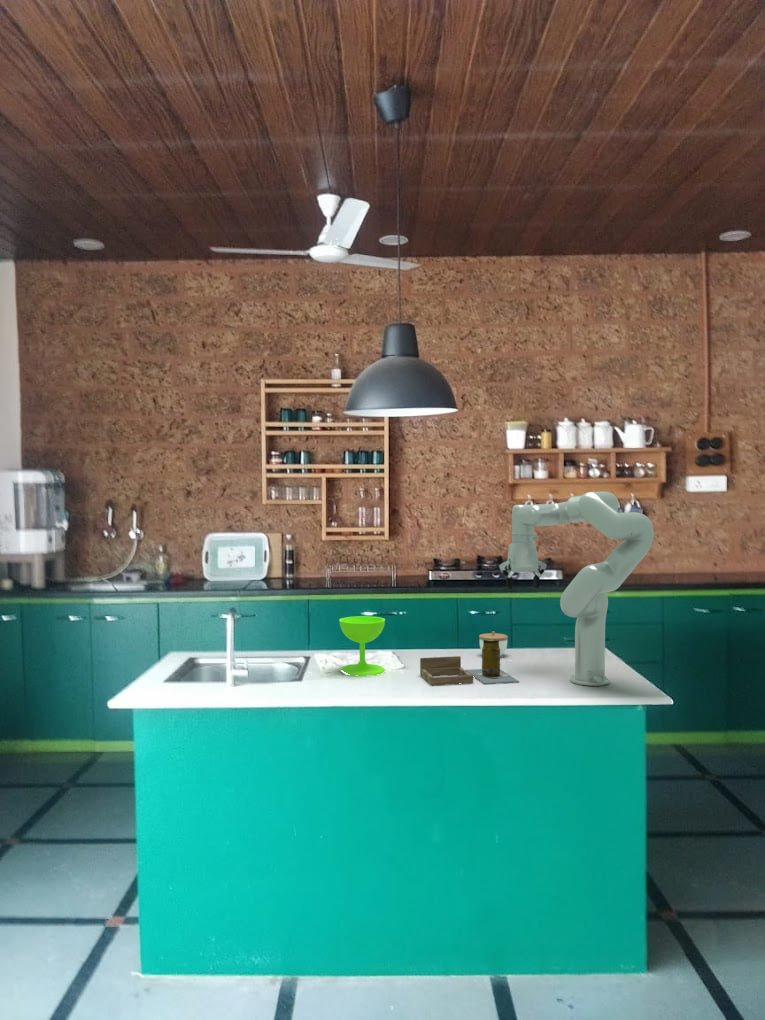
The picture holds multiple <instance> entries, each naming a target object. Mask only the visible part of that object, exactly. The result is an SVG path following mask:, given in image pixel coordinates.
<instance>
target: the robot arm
mask: <svg viewBox="0 0 765 1020" xmlns="http://www.w3.org/2000/svg"><path fill="white" fill-rule="evenodd" d="M619 507H620V503H619V499H618V498H617V496H616V495H615V494H613V493H611V492H610V491H589V492H588V491H587V492H585V493H584V494H582V495H576V496H572V497H569V498H568V500H567V501H563V502H558V503H557V502H556V503H541V504H540V503H539V504H538V503H537V504H515V505H513V506H512V509H511V511H512V512H511V513H512V515H511V517H512V518H511V526H512V527H511V532H512V533H511V540H512V541H511V543H509V546H508V551H507V560H506V561H504V562H502V563H500V564H499V565H498V567H499V570H500V571H501V573H502V574H503V575H504V577H505V578H506V581H505V582H506V585H505V586H506V587H507V589H508V590H512V589H513V578H512V577H513V575H514V574H515V573H533V575H534V576H533V585H532V587H533V588H535V589H539V586H540V577H542V575H543V573H545V570H546V568H547V566H548V564H547V563H546V562H543V561H541V560H539V558H538V549H537V545H536V543H535V541H538V538H539V537H538V536H536V535H535V530H534V529H535V527H545V526H547V527H550V526H559V525H565V524H571V523H574V524H575V523H580V522H581V523H582V522H588V523H589V524H591V525H592V526H593V527H594V528H596V529H597V531H599V532H600V533H601V534H603V535H604V536H605V537H607V538H608V539H611V540H613V541H622V542H620V544H618V545H617V546H616V547H615V548H614V549H613V550H612V552H610V553H609V555H608V557H607V558H605V560H603V561H601V562H597V563H591V564H588V565H585V566H584V567H583V568H582V569H580V570H579V572H578V573H577V574H576V575H575V577H574V578H573V579H572V580H571V581H570V583H569V584H568V585H567V587H566V588H565V589H564V591H563V592H562V594H561V597H560V599H559V600H560V601H559V605H560V608H561V611H562V613H563V614H564V615H565V616H567V617H570V618H576V620H575V621H576V622H575V626H574V631H575V632H574V633H575V634H574V674H573V675H571V676H570V678H569V681H570V682H572V683H574V684H576V685H581V686H589V687H590V686H592V687H595V686H606V685H608V684H610V683H611V682H610V681H611V680H610V678H609V677H607V676H606V670H605V669H606V620H607V612H608V607H609V599H608V595H607V593H610V592H614V591H616V590H617V589H619V588H620V587H621V585H622V584H623V583H624V582H625V581H626V579H627V578H628V577H629V576H630V574H632V572H633V571H634V570H635V568H636V567H637V566H638V564H640V563H641V561H642V560H643V559H644V558H645V556H646V555H647V553H649V551H650V550H651V547H652V545H653V543H654V538H655V537H654V535H655V533H654V526H653V523H652V522H651V520H650V518H649V517H648V516H646V515H645V514H643V513H640V512H635V511H633V512H632V511H631V512H630V511H628V512H627V511H626V512H618V510H619ZM539 566H541V567H540V568H539ZM505 567H506V568H505ZM506 569H507V570H506Z"/></svg>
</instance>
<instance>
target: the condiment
mask: <svg viewBox="0 0 765 1020" xmlns="http://www.w3.org/2000/svg"><path fill="white" fill-rule="evenodd" d="M481 654H482V655H481V669H482V673H479V674H478V675H481V676H487V677H491V678H501V677H505V676H509V675H510V674H508V675H506V674H500V669H501V657H500V648H499V640H498V639H484V641H483V648H482V651H481Z"/></svg>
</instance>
